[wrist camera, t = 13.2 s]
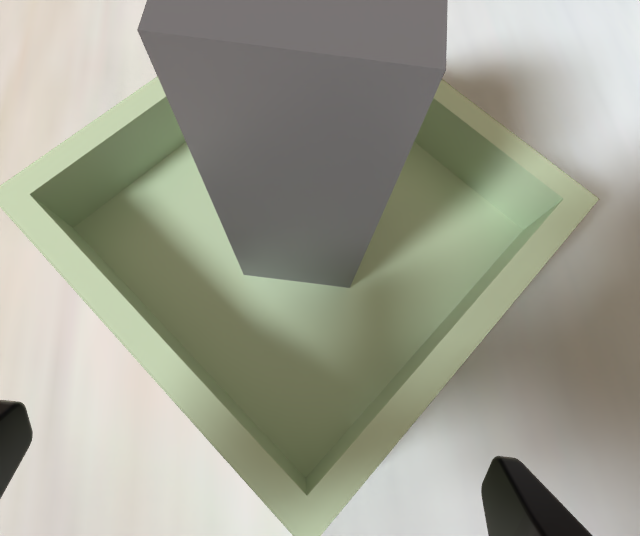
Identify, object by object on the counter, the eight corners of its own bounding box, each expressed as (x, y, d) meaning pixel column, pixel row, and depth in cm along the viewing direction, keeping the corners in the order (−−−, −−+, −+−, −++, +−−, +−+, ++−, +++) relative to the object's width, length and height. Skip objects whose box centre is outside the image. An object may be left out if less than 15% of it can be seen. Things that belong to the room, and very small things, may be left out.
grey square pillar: (349, 287, 17) (445, 69, 6) (243, 274, 17) (137, 29, 6) (359, 178, 19) (450, -156, 8) (263, 166, 19) (210, -189, 8)
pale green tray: (305, 514, 16) (307, 551, 12) (52, 236, 18) (-12, 194, 15) (541, 238, 20) (599, 199, 16) (303, 46, 23) (304, -26, 19)
